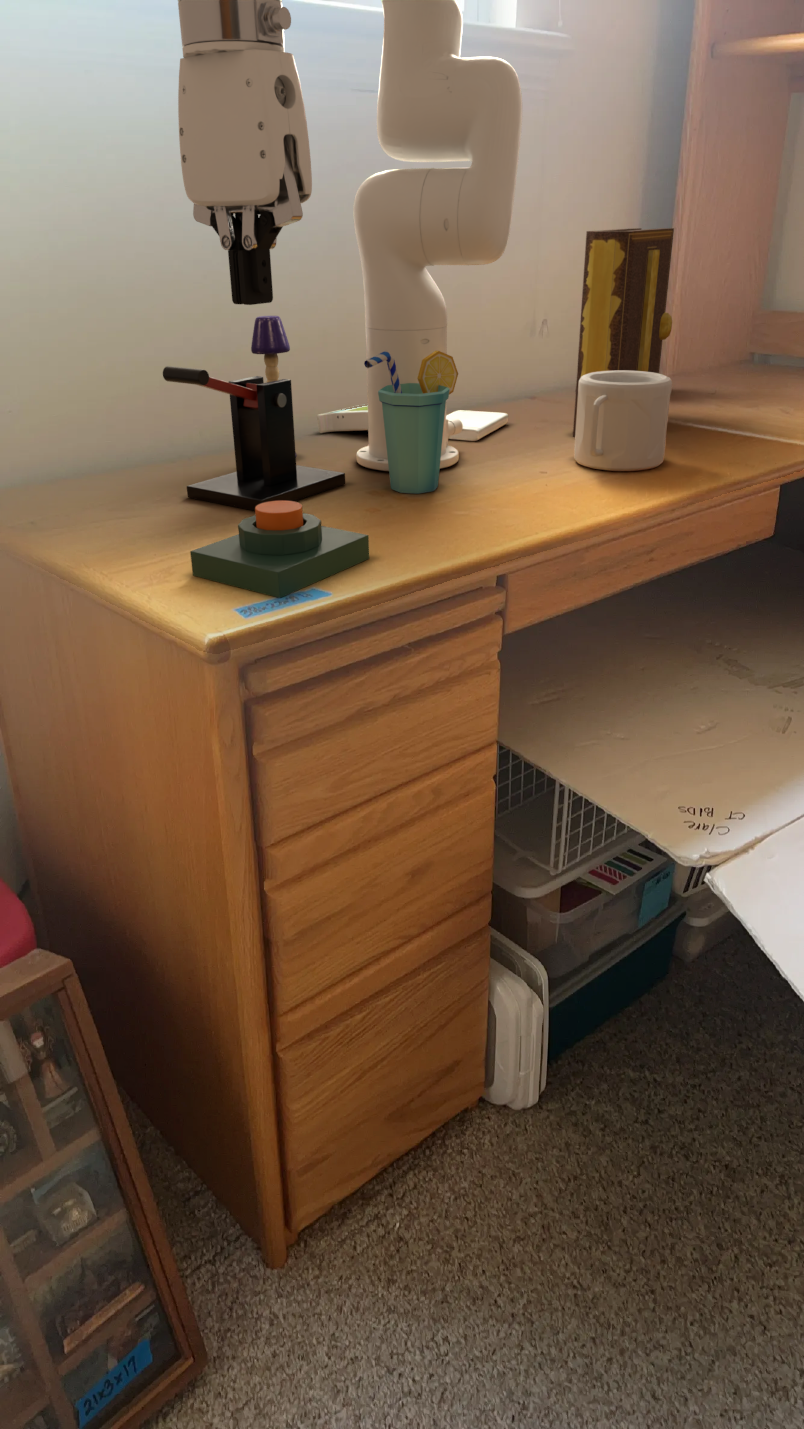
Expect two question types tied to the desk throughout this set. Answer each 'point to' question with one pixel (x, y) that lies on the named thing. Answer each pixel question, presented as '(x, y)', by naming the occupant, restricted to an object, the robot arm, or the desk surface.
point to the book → (624, 301)
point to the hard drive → (477, 423)
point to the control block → (279, 556)
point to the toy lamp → (269, 343)
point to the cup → (416, 421)
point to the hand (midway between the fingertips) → (253, 302)
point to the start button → (279, 515)
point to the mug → (622, 420)
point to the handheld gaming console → (344, 420)
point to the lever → (212, 383)
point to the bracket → (264, 454)
